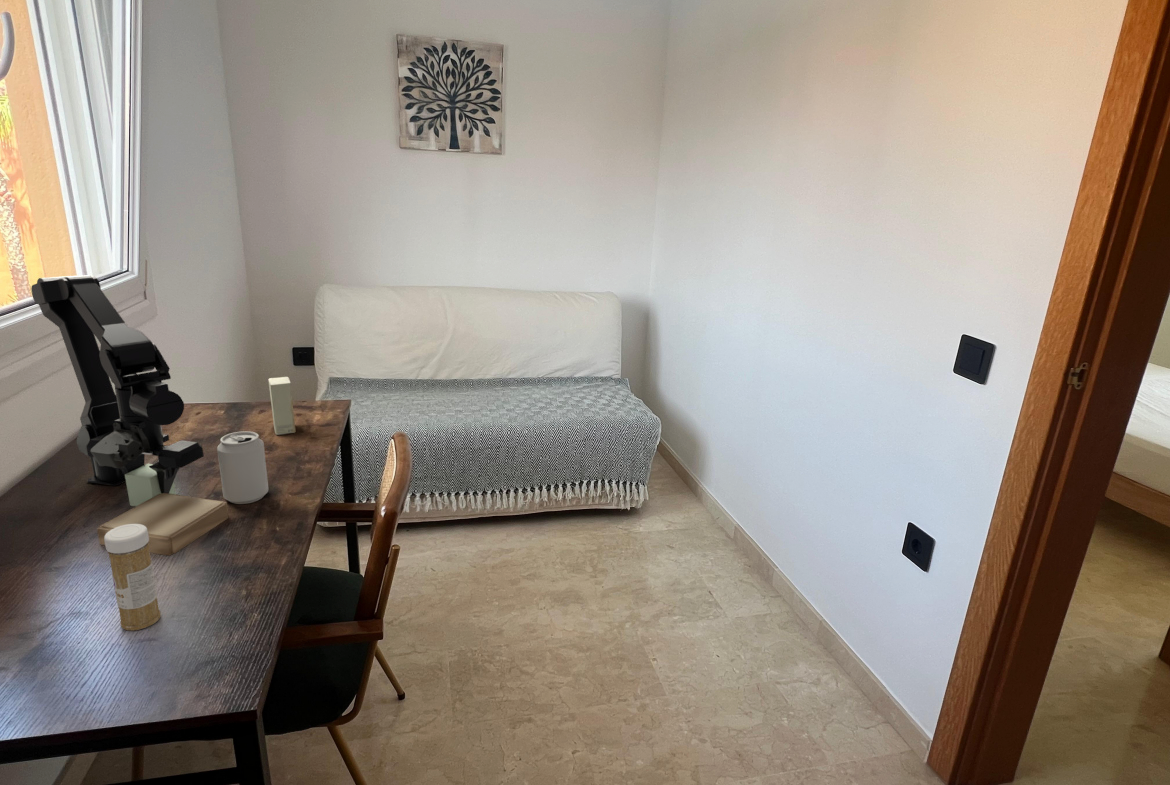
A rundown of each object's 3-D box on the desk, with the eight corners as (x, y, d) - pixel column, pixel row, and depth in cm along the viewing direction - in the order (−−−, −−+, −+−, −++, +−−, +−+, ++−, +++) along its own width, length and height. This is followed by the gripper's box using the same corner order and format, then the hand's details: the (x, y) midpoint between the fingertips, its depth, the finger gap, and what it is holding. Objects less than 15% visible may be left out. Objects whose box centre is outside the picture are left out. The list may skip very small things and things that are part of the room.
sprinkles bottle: (115, 621, 87) (98, 530, 83) (154, 606, 90) (139, 518, 86) (127, 637, 84) (110, 544, 80) (167, 621, 88) (152, 531, 84)
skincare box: (296, 433, 153) (291, 383, 149) (275, 435, 151) (270, 385, 147) (293, 424, 158) (288, 375, 155) (272, 426, 156) (267, 377, 153)
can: (250, 508, 118) (243, 446, 114) (214, 503, 119) (205, 441, 116) (277, 490, 125) (271, 431, 121) (242, 485, 126) (235, 427, 123)
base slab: (98, 544, 105) (95, 527, 104) (164, 506, 117) (161, 491, 116) (171, 555, 102) (168, 538, 101) (230, 516, 115) (228, 501, 114)
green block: (130, 505, 117) (124, 474, 115) (152, 493, 122) (148, 463, 120) (154, 509, 116) (149, 478, 114) (176, 496, 121) (172, 466, 119)
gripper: (49, 420, 108) (66, 506, 112) (148, 433, 105) (162, 521, 109) (108, 400, 118) (122, 479, 123) (200, 411, 115) (210, 492, 120)
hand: (152, 493), depth 118 cm, fingers closed on green block, 5 cm apart
